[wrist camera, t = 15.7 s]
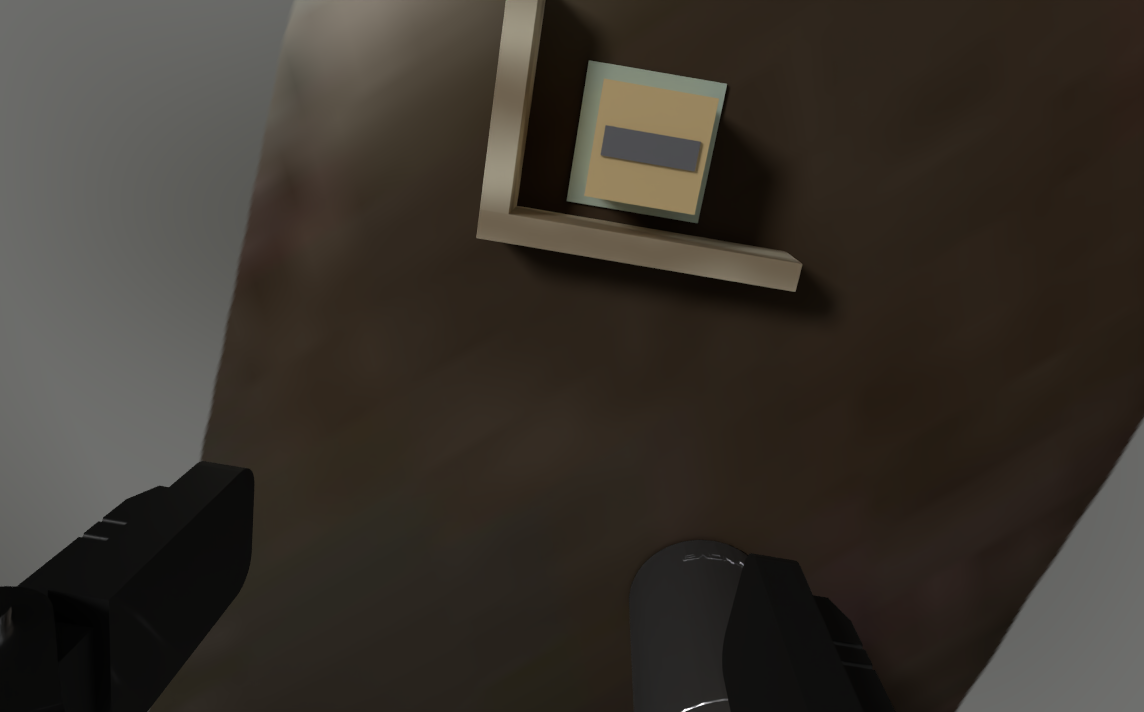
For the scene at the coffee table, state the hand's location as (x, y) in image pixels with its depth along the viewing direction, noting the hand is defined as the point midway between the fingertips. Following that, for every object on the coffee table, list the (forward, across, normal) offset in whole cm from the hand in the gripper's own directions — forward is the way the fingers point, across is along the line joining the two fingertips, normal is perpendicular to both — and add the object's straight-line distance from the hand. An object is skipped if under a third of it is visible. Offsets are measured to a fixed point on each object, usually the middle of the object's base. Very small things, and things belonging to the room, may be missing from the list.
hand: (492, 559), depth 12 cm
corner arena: (+33, -3, -7) cm, 34 cm away
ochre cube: (+33, -3, -6) cm, 34 cm away
